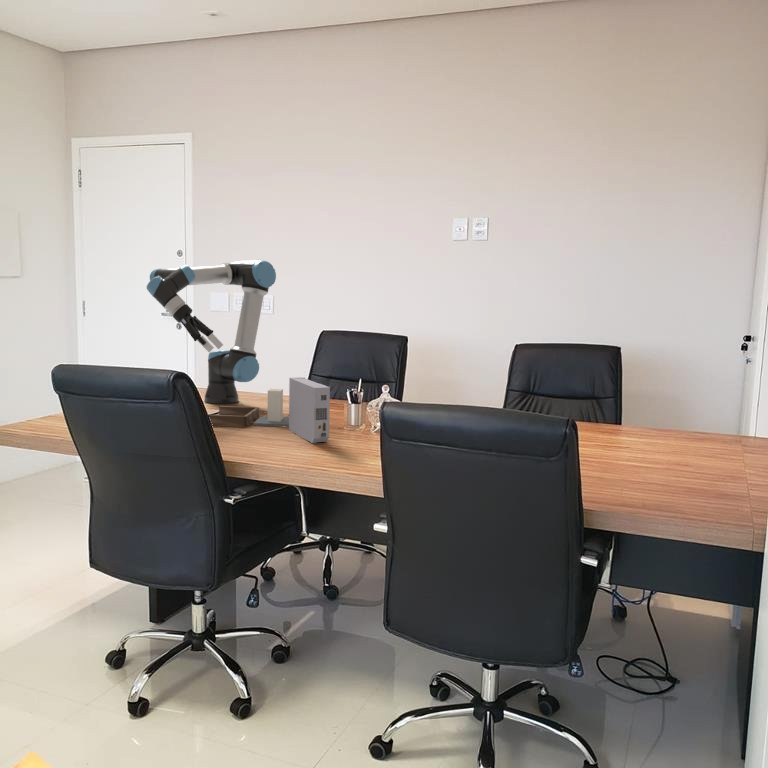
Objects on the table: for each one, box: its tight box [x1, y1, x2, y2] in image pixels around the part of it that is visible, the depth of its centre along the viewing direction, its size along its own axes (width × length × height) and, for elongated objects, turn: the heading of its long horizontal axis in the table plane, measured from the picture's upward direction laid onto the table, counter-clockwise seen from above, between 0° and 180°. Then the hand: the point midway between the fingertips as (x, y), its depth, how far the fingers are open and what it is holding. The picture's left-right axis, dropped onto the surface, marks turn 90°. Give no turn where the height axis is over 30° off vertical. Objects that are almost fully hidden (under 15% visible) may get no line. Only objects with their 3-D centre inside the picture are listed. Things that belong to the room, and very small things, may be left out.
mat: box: [252, 415, 289, 428], centre depth 303 cm, size 15×14×1 cm
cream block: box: [267, 388, 284, 422], centre depth 302 cm, size 5×5×12 cm
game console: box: [288, 376, 331, 444], centre depth 277 cm, size 6×27×20 cm, turn 25°
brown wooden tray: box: [208, 405, 260, 428], centre depth 304 cm, size 21×16×4 cm
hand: (216, 348), depth 309 cm, fingers open, 13 cm apart
